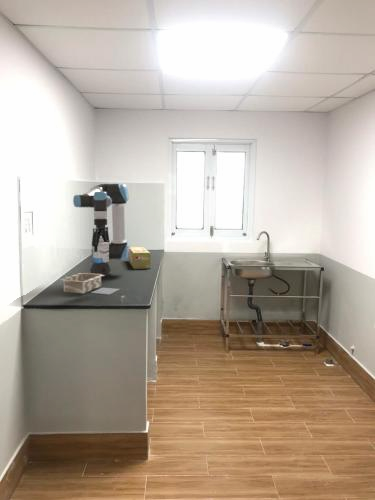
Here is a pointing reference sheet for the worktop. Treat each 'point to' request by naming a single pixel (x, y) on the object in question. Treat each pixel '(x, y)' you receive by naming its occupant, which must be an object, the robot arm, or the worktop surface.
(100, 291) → the mat
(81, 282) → the beige storage basket
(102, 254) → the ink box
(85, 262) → the worktop surface
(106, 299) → the worktop surface
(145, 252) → the soda box
